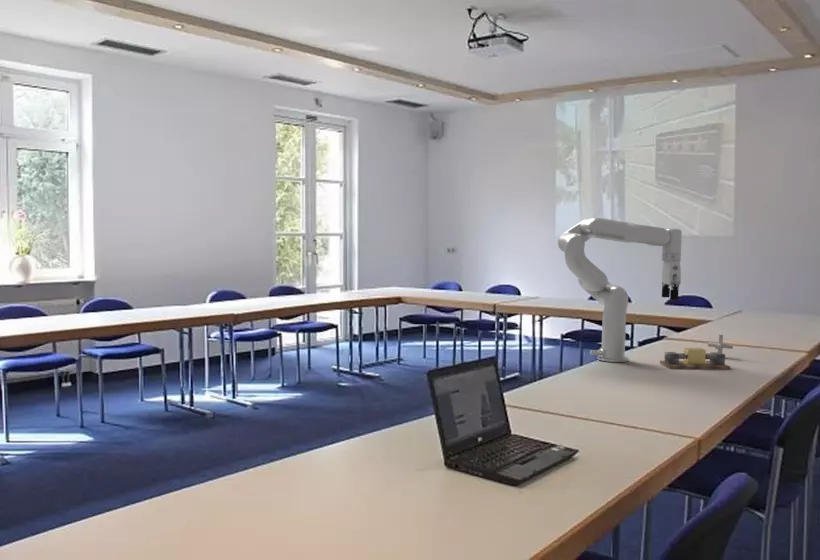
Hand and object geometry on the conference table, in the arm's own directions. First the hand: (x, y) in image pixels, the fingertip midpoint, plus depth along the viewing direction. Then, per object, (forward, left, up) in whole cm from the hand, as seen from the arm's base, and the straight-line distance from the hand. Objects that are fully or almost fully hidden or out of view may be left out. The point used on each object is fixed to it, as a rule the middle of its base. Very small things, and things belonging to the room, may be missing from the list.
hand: (669, 298), depth 315 cm
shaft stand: (+6, -15, -26) cm, 31 cm away
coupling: (+6, -15, -25) cm, 30 cm away
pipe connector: (+26, +8, -26) cm, 38 cm away
